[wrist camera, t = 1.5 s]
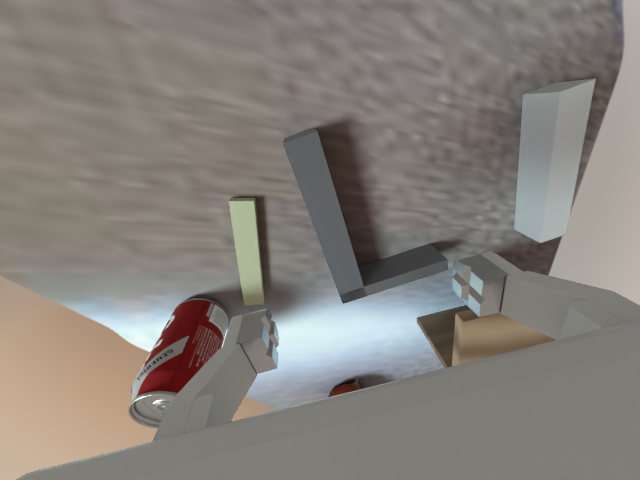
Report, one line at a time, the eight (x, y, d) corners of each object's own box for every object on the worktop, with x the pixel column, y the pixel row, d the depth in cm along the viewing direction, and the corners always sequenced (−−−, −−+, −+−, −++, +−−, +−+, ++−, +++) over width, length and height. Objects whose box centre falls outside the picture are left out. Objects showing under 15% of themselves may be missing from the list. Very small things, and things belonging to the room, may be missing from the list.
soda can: (223, 291, 31) (190, 385, 20) (234, 328, 34) (210, 426, 24) (168, 297, 30) (104, 396, 20) (185, 334, 34) (138, 436, 23)
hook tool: (283, 138, 24) (283, 143, 20) (413, 91, 23) (435, 88, 19) (337, 282, 33) (342, 303, 29) (430, 252, 32) (448, 269, 28)
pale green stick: (231, 196, 26) (228, 201, 25) (255, 196, 26) (254, 201, 25) (245, 297, 32) (244, 305, 31) (264, 296, 33) (263, 304, 31)
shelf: (414, 263, 32) (463, 322, 23) (502, 241, 32) (584, 291, 23) (417, 322, 38) (456, 387, 29) (491, 303, 38) (554, 363, 29)
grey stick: (520, 94, 24) (560, 92, 21) (551, 83, 24) (595, 78, 21) (512, 228, 32) (540, 243, 28) (535, 220, 32) (566, 234, 28)
